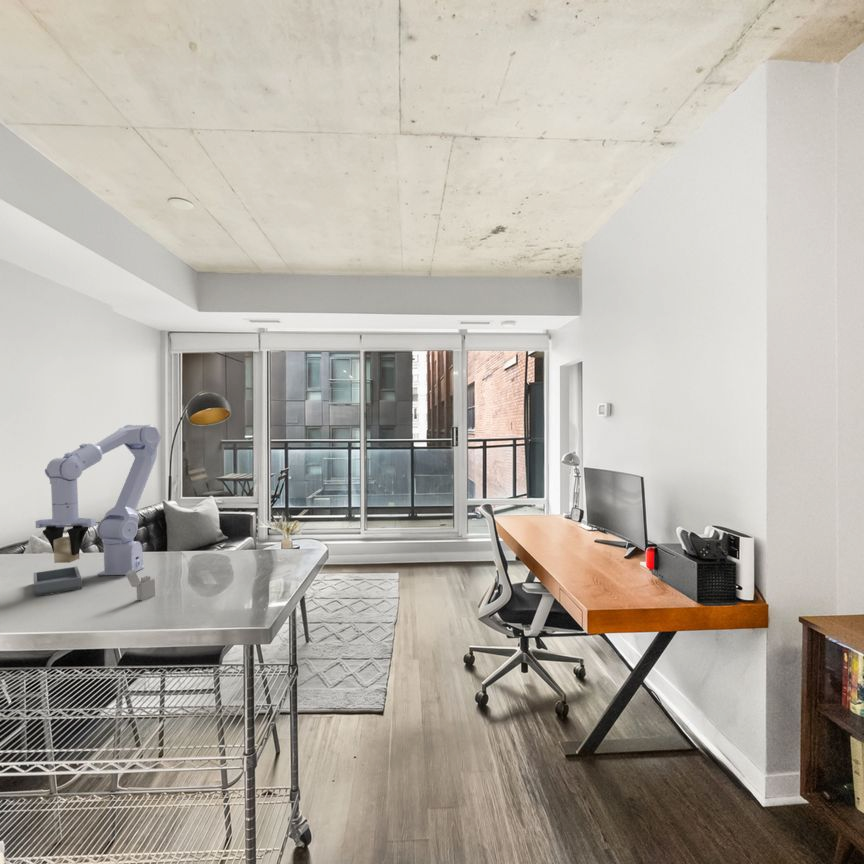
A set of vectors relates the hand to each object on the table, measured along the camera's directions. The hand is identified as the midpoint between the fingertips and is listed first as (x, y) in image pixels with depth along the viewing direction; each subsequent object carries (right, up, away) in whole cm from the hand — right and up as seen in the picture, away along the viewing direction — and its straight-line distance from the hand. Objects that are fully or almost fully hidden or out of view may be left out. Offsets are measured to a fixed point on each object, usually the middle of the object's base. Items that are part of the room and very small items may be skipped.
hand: (66, 554), depth 144 cm
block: (0, -2, 0) cm, 2 cm away
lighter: (+25, -9, -11) cm, 29 cm away
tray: (-4, -9, +2) cm, 10 cm away
